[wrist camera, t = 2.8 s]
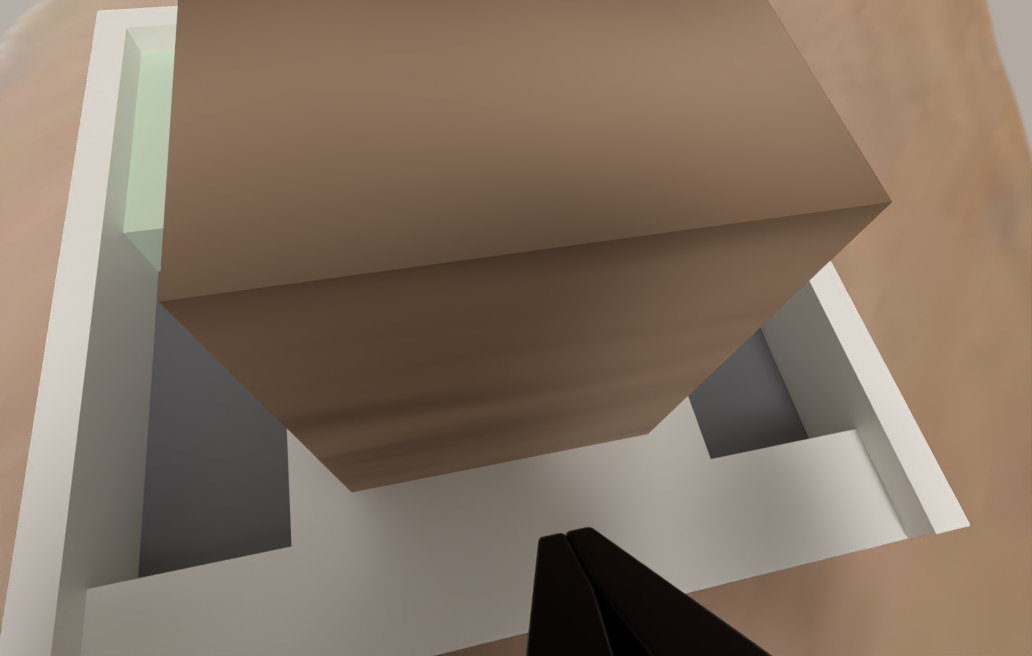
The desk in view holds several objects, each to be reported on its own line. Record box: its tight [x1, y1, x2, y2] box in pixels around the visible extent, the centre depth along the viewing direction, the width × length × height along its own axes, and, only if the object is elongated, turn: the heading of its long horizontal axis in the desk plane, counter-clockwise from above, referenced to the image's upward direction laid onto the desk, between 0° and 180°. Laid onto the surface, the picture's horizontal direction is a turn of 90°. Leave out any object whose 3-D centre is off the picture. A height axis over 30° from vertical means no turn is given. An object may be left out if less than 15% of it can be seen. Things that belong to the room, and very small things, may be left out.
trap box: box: [0, 6, 971, 656], centre depth 19 cm, size 22×22×4 cm
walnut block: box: [158, 0, 892, 492], centre depth 12 cm, size 8×8×10 cm
